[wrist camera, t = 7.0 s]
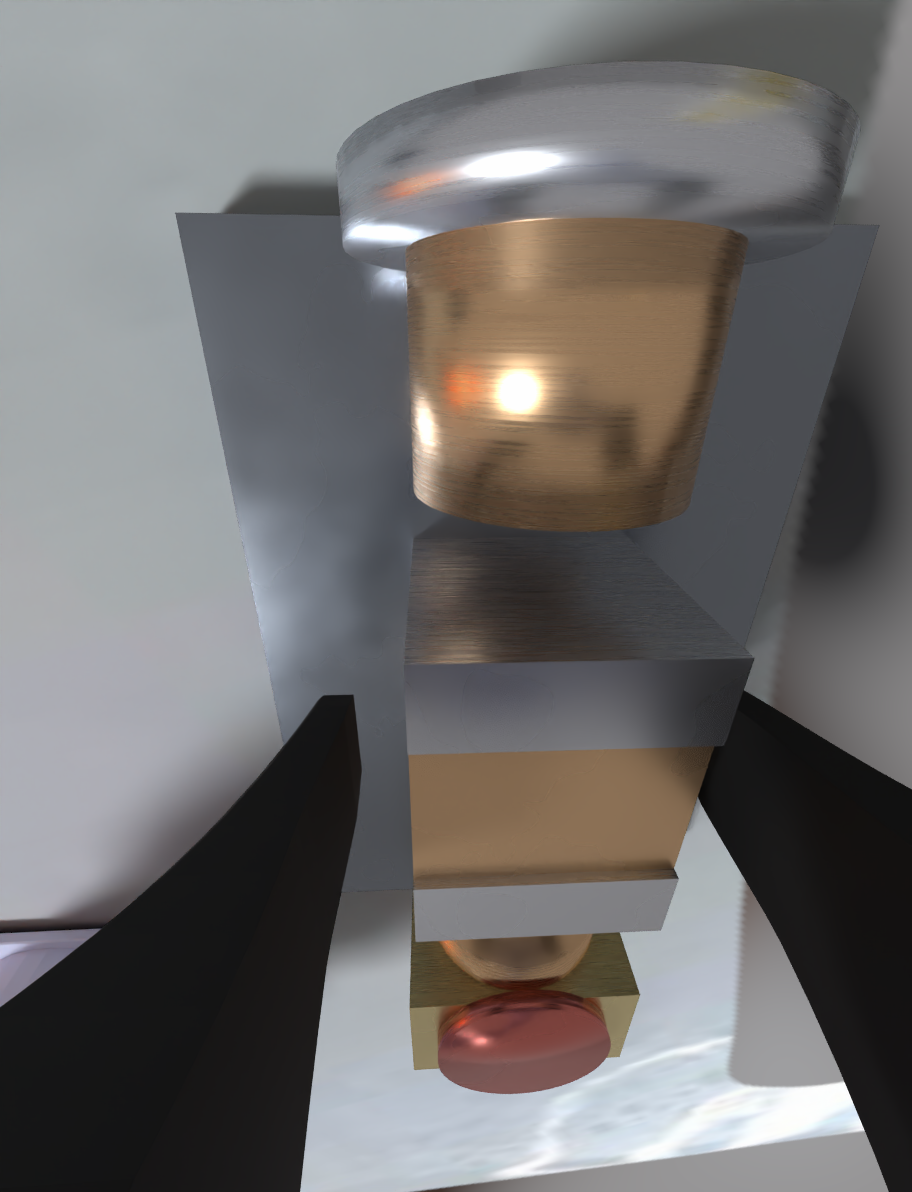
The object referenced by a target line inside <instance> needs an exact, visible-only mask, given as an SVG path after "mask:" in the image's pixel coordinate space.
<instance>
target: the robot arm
mask: <svg viewBox="0 0 912 1192" xmlns="http://www.w3.org/2000/svg"><path fill="white" fill-rule="evenodd" d="M361 774H362V766H361V757H360V748H359V739H358V730H357V721H356V712H355V703H354V694H352V695H323V696H322V697H321V698H320V699H319V700H318V701H317V702H316V704H315V705H314V706H313V708H312V709H311V711H310V712H309V713H308V715H307V716H306V717H305V719H304V720H303V721H302V723H301V724H300V725H299V727H298V728H297V729H296V731H295V732H294V733H293V735H292V736H291V737H290V739H289V740H288V741H287V742H286V744H285V745H284V746H283V747H282V749H281V750H280V751H279V752H278V754H277V755H276V756H275V757H274V759H273V760H272V761H271V762H270V763H269V765H268V766H267V767H266V768H265V770H264V771H263V772H262V773H261V774H260V776H259V777H258V778H257V779H256V780H255V781H254V783H253V784H252V785H251V786H250V787H249V788H248V789H247V790H246V791H245V793H244V794H243V795H242V796H241V797H240V798H239V799H238V800H237V801H236V802H235V804H234V805H233V806H232V807H231V808H230V809H229V810H228V811H227V812H226V814H225V815H224V816H223V817H222V818H221V819H220V820H219V821H218V822H217V823H216V824H215V825H214V826H213V827H212V828H211V829H210V830H209V831H208V832H207V833H206V834H205V835H204V836H203V837H202V838H201V839H200V840H199V841H198V842H197V843H196V844H195V845H194V846H193V847H192V848H191V849H190V850H189V851H188V852H187V853H186V854H185V855H184V856H183V857H182V858H181V859H180V860H179V861H178V862H177V863H176V864H175V865H173V866H172V867H171V868H170V869H169V870H168V871H167V872H166V873H165V874H164V875H163V876H161V877H160V878H159V879H158V880H157V881H156V882H155V883H154V884H152V885H151V886H150V887H149V888H148V889H147V890H146V891H145V892H143V893H142V894H141V895H140V896H139V897H138V898H137V899H136V900H134V901H133V902H132V903H131V904H130V905H129V906H128V907H126V908H125V909H124V910H123V911H122V912H121V913H119V914H118V915H117V916H116V917H115V918H114V919H112V920H111V921H110V922H109V923H108V924H106V925H105V926H104V927H103V928H101V929H80V930H60V931H40V932H19V933H0V1192H300V1187H301V1178H302V1169H303V1160H304V1150H305V1141H306V1132H307V1123H308V1114H309V1105H310V1096H311V1088H312V1079H313V1071H314V1063H315V1054H316V1046H317V1037H318V1029H319V1021H320V1013H321V1006H322V998H323V990H324V982H325V975H326V967H327V961H328V955H329V950H330V944H331V938H332V934H333V929H334V924H335V920H336V915H337V910H338V906H339V901H340V896H341V892H342V887H343V882H344V878H345V873H346V868H347V864H348V859H349V854H350V849H351V845H352V840H353V835H354V830H355V826H356V821H357V814H358V804H359V795H360V784H361ZM698 798H699V800H700V803H701V805H702V807H703V808H704V810H705V812H706V814H707V815H708V817H709V819H710V821H711V822H712V824H713V826H714V828H715V829H716V831H717V833H718V835H719V836H720V838H721V840H722V841H723V843H724V845H725V847H726V848H727V850H728V852H729V853H730V855H731V857H732V858H733V860H734V862H735V863H736V865H737V867H738V869H739V870H740V872H741V874H742V875H743V877H744V879H745V880H746V882H747V884H748V886H749V887H750V889H751V891H752V892H753V894H754V896H755V897H756V899H757V901H758V902H759V904H760V906H761V907H762V909H763V911H764V913H765V914H766V916H767V918H768V920H769V921H770V923H771V925H772V927H773V929H774V931H775V933H776V935H777V936H778V938H779V940H780V942H781V944H782V946H783V948H784V950H785V952H786V954H787V956H788V959H789V960H790V963H791V965H792V967H793V969H794V971H795V973H796V975H797V977H798V979H799V982H800V984H801V986H802V988H803V990H804V992H805V994H806V996H807V998H808V1000H809V1003H810V1005H811V1007H812V1009H813V1011H814V1014H815V1016H816V1018H817V1020H818V1023H819V1025H820V1027H821V1029H822V1032H823V1034H824V1036H825V1038H826V1041H827V1043H828V1045H829V1047H830V1049H831V1052H832V1054H833V1056H834V1058H835V1061H836V1063H837V1065H838V1067H839V1070H840V1072H841V1074H842V1077H843V1079H844V1082H845V1084H846V1086H847V1089H848V1091H849V1094H850V1096H851V1099H852V1101H853V1103H854V1106H855V1108H856V1111H857V1113H858V1115H859V1118H860V1120H861V1123H862V1125H863V1127H864V1130H865V1132H866V1135H867V1137H868V1139H869V1142H870V1144H871V1147H872V1149H873V1152H874V1154H875V1157H876V1159H877V1162H878V1164H879V1167H880V1170H881V1172H882V1175H883V1178H884V1180H885V1183H886V1185H887V1188H888V1191H889V1192H912V789H910V788H908V787H906V786H905V785H903V784H901V783H899V782H897V781H895V780H894V779H892V778H890V777H888V776H887V775H884V774H883V773H881V772H879V771H877V770H876V769H874V768H872V767H870V766H869V765H867V764H865V763H864V762H862V761H860V760H859V759H857V758H855V757H854V756H852V755H850V754H848V753H847V752H845V751H843V750H842V749H840V748H838V747H837V746H835V745H833V744H832V743H830V742H828V741H827V740H825V739H823V738H822V737H820V736H818V735H817V734H815V733H814V732H812V731H810V730H809V729H807V728H805V727H804V726H802V725H801V724H799V723H797V722H796V721H794V720H792V719H791V718H789V717H788V716H786V715H784V714H783V713H781V712H779V711H778V710H776V709H774V708H773V707H771V706H770V705H768V704H766V703H765V702H763V701H761V700H760V699H758V698H756V697H754V696H753V695H751V694H749V693H747V692H746V691H744V690H743V693H742V696H741V699H740V702H739V705H738V708H737V711H736V714H735V717H734V719H733V722H732V725H731V728H730V731H729V734H728V737H727V740H726V743H725V746H714V749H713V752H712V755H711V758H710V761H709V764H708V767H707V770H706V773H705V776H704V779H703V782H702V785H701V788H700V791H699V794H698Z"/></svg>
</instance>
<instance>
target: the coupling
mask: <svg viewBox="0 0 912 1192" xmlns="http://www.w3.org/2000/svg"><path fill="white" fill-rule="evenodd" d="M753 661H754V657H753V656H752V655H751V654H750V653H749V652H748V651H747V650H746V649H745V648H743V647H742V646H741V645H740V644H739V643H738V642H737V641H736V640H735V639H734V638H733V637H732V636H731V635H730V634H729V633H728V632H727V631H726V630H725V629H724V628H723V627H722V626H721V625H719V624H718V623H717V622H716V621H715V620H714V619H713V618H712V617H711V616H710V615H709V614H708V613H707V612H706V611H705V610H704V609H703V608H702V607H701V606H700V605H699V604H698V603H697V602H695V601H694V600H693V599H692V598H691V597H690V596H689V595H688V594H687V593H686V592H685V591H684V590H683V589H682V588H681V587H680V586H679V585H678V584H677V583H676V582H675V581H674V580H672V579H671V578H670V577H669V576H668V575H667V574H666V573H665V572H664V571H663V570H662V569H661V568H660V567H659V566H658V565H657V564H656V563H655V562H654V561H653V560H652V559H651V558H650V557H648V556H647V555H646V554H645V553H644V552H643V551H642V550H641V549H640V548H639V547H638V546H637V545H636V544H635V543H634V542H633V541H632V540H631V539H630V538H629V537H550V538H413V548H412V561H411V574H410V588H409V601H408V614H407V627H406V640H405V653H404V685H405V708H406V731H407V755H408V757H409V780H410V804H411V828H412V851H413V875H414V885H413V893H414V916H415V939H416V942H426V941H447V940H468V939H489V938H510V937H531V936H552V935H573V934H594V933H615V932H636V931H657V930H661V929H662V926H663V923H664V920H665V917H666V914H667V911H668V909H669V906H670V903H671V900H672V897H673V894H674V891H675V888H676V885H677V882H678V879H679V878H678V876H677V874H676V872H675V870H674V866H675V863H676V860H677V857H678V854H679V851H680V848H681V845H682V842H683V839H684V836H685V833H686V830H687V827H688V824H689V821H690V818H691V815H692V812H693V809H694V806H695V803H696V800H697V797H698V794H699V791H700V788H701V785H702V782H703V779H704V776H705V773H706V770H707V767H708V764H709V761H710V758H711V755H712V752H713V749H714V746H725V743H726V740H727V737H728V734H729V731H730V728H731V725H732V722H733V719H734V717H735V714H736V711H737V708H738V705H739V702H740V699H741V696H742V693H743V690H744V687H745V685H746V682H747V679H748V676H749V673H750V670H751V667H752V664H753Z"/></svg>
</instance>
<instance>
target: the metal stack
mask: <svg viewBox="0 0 912 1192" xmlns="http://www.w3.org/2000/svg"><path fill="white" fill-rule="evenodd" d="M860 131H861V129H860V122H859V117H858V115H857V114H856V113H855V111H854V110H853V108H852V107H851V106H850V104H849V103H847V102H846V101H844V100H843V99H841V98H840V97H839V96H837V95H836V94H834V93H833V92H831V91H829V90H827V89H824V88H822V87H820V86H817V85H815V84H813V83H810V82H808V81H805V80H802V79H798V78H794V77H790V76H786V75H783V74H779V73H775V72H771V71H765V70H759V69H752V68H746V67H739V66H733V65H725V64H711V63H696V62H682V61H624V62H608V63H593V64H578V65H568V66H560V67H552V68H545V69H537V70H529V71H522V72H517V73H512V74H506V75H501V76H496V77H491V78H486V79H481V80H476V81H472V82H468V83H465V84H461V85H457V86H454V87H450V88H447V89H443V90H439V91H436V92H433V93H430V94H427V95H424V96H422V97H419V98H416V99H414V100H411V101H408V102H405V103H403V104H400V105H398V106H396V107H394V108H392V109H390V110H388V111H386V112H384V113H382V114H380V115H378V116H376V117H374V118H373V119H371V120H370V121H368V122H367V123H365V124H364V125H362V126H361V127H359V128H358V129H357V130H355V131H354V132H353V133H352V134H351V135H350V136H349V137H348V139H347V140H346V141H345V142H344V143H343V145H342V147H341V148H340V150H339V152H338V154H337V162H336V169H337V182H338V194H339V206H340V216H334V215H277V214H221V213H175V214H176V219H177V224H178V228H179V233H180V238H181V243H182V248H183V253H184V258H185V263H186V268H187V273H188V277H189V282H190V287H191V292H192V297H193V302H194V307H195V312H196V317H197V322H198V327H199V331H200V336H201V341H202V346H203V351H204V356H205V361H206V366H207V371H208V376H209V381H210V385H211V390H212V395H213V400H214V405H215V410H216V415H217V420H218V425H219V430H220V435H221V439H222V444H223V449H224V454H225V459H226V464H227V469H228V474H229V479H230V484H231V489H232V493H233V498H234V503H235V508H236V513H237V518H238V523H239V528H240V533H241V538H242V542H243V547H244V552H245V557H246V562H247V567H248V572H249V577H250V582H251V587H252V592H253V596H254V601H255V606H256V611H257V616H258V621H259V626H260V631H261V636H262V641H263V646H264V650H265V655H266V660H267V665H268V670H269V675H270V680H271V685H272V690H273V695H274V700H275V704H276V709H277V714H278V719H279V724H280V729H281V734H282V739H283V744H284V745H285V744H286V742H287V741H288V740H289V739H290V737H291V736H292V735H293V733H294V732H295V731H296V729H297V728H298V727H299V725H300V724H301V723H302V721H303V720H304V719H305V717H306V716H307V715H308V713H309V712H310V711H311V709H312V708H313V706H314V705H315V704H316V702H317V701H318V700H319V699H320V698H321V697H322V696H323V695H352V694H354V703H355V712H356V721H357V730H358V739H359V748H360V757H361V766H362V774H361V784H360V795H359V804H358V814H357V821H356V826H355V830H354V835H353V840H352V845H351V849H350V854H349V859H348V864H347V868H346V873H345V878H344V882H343V887H342V892H356V891H378V890H399V889H413V885H414V875H413V851H412V828H411V804H410V780H409V757H408V755H407V731H406V708H405V685H404V653H405V640H406V627H407V614H408V601H409V588H410V574H411V561H412V548H413V538H550V537H629V538H630V539H631V540H632V541H633V542H634V543H635V544H636V545H637V546H638V547H639V548H640V549H641V550H642V551H643V552H644V553H645V554H646V555H647V556H648V557H650V558H651V559H652V560H653V561H654V562H655V563H656V564H657V565H658V566H659V567H660V568H661V569H662V570H663V571H664V572H665V573H666V574H667V575H668V576H669V577H670V578H671V579H672V580H674V581H675V582H676V583H677V584H678V585H679V586H680V587H681V588H682V589H683V590H684V591H685V592H686V593H687V594H688V595H689V596H690V597H691V598H692V599H693V600H694V601H695V602H697V603H698V604H699V605H700V606H701V607H702V608H703V609H704V610H705V611H706V612H707V613H708V614H709V615H710V616H711V617H712V618H713V619H714V620H715V621H716V622H717V623H718V624H719V625H721V626H722V627H723V628H724V629H725V630H726V631H727V632H728V633H729V634H730V635H731V636H732V637H733V638H734V639H735V640H736V641H737V642H738V643H739V644H740V645H741V646H742V647H743V648H744V647H745V644H746V640H747V637H748V634H749V631H750V628H751V625H752V622H753V619H754V615H755V612H756V609H757V606H758V603H759V600H760V597H761V594H762V590H763V587H764V584H765V581H766V578H767V575H768V572H769V569H770V565H771V562H772V559H773V556H774V553H775V550H776V547H777V544H778V540H779V537H780V534H781V531H782V528H783V525H784V522H785V519H786V515H787V512H788V509H789V506H790V503H791V500H792V497H793V494H794V490H795V487H796V484H797V481H798V478H799V475H800V472H801V469H802V465H803V462H804V459H805V456H806V453H807V450H808V447H809V444H810V440H811V437H812V434H813V431H814V428H815V425H816V422H817V419H818V415H819V412H820V409H821V406H822V403H823V400H824V397H825V394H826V390H827V387H828V384H829V381H830V378H831V375H832V372H833V369H834V365H835V362H836V359H837V356H838V353H839V350H840V347H841V344H842V340H843V337H844V334H845V331H846V328H847V325H848V322H849V319H850V315H851V312H852V309H853V306H854V303H855V300H856V297H857V293H858V290H859V287H860V284H861V281H862V278H863V275H864V272H865V269H866V265H867V262H868V259H869V256H870V253H871V250H872V246H873V244H874V240H875V237H876V234H877V231H878V228H879V225H842V224H834V222H835V218H836V215H837V211H838V208H839V204H840V201H841V197H842V194H843V191H844V187H845V184H846V180H847V177H848V173H849V170H850V166H851V163H852V159H853V156H854V152H855V149H856V145H857V142H858V138H859V135H860ZM639 996H640V994H639V990H638V987H637V984H636V981H635V978H634V975H633V972H632V969H631V966H630V963H629V960H628V957H627V954H626V951H625V948H624V944H623V941H622V938H621V935H620V932H615V933H594V934H573V935H552V936H531V937H510V938H489V939H468V940H447V941H426V942H416V939H415V916H414V893H413V904H412V940H411V977H410V1020H411V1034H412V1047H413V1061H414V1070H421V1069H437V1068H440V1070H441V1072H442V1073H443V1074H444V1076H445V1077H447V1078H448V1079H449V1080H450V1081H452V1082H454V1083H455V1084H458V1085H460V1086H462V1087H465V1088H468V1089H471V1090H476V1091H480V1092H487V1093H497V1094H517V1093H529V1092H536V1091H542V1090H546V1089H551V1088H555V1087H558V1086H562V1085H564V1084H567V1083H570V1082H573V1081H575V1080H577V1079H579V1078H581V1077H583V1076H585V1075H587V1074H589V1073H590V1072H592V1071H593V1070H595V1069H596V1068H597V1067H598V1066H599V1065H600V1064H601V1063H602V1062H603V1061H604V1060H605V1059H606V1058H609V1057H619V1056H620V1053H621V1050H622V1047H623V1044H624V1041H625V1038H626V1035H627V1032H628V1029H629V1026H630V1023H631V1020H632V1017H633V1014H634V1011H635V1008H636V1005H637V1002H638V999H639Z"/></svg>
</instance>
